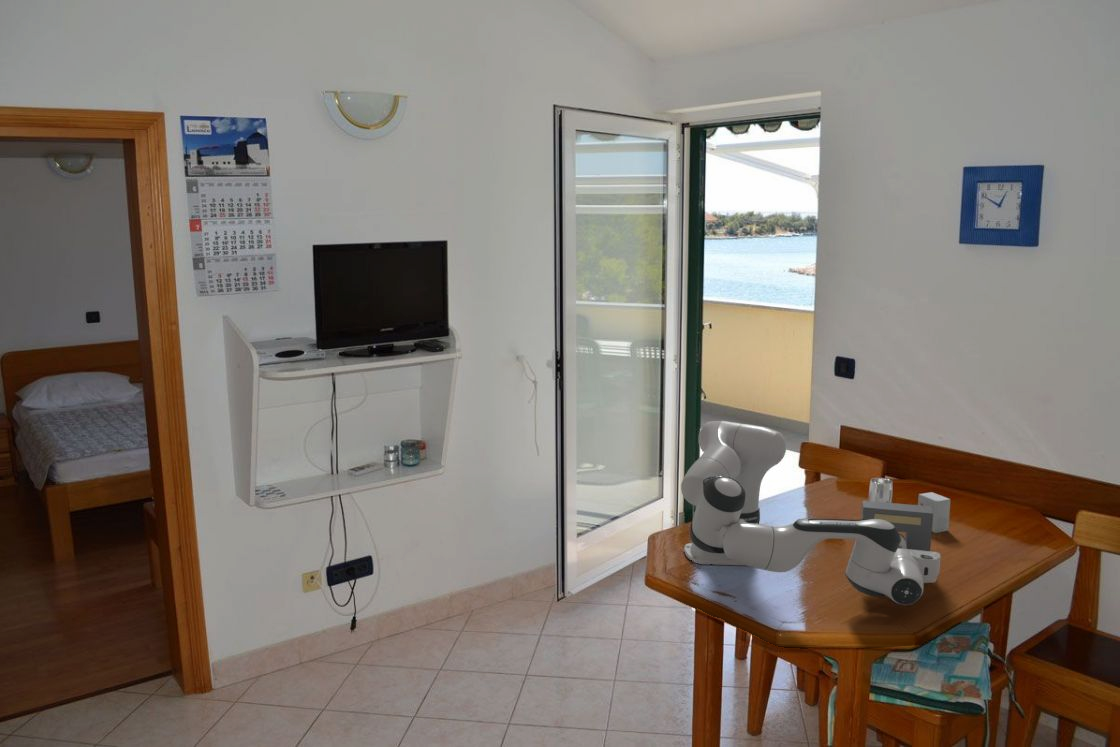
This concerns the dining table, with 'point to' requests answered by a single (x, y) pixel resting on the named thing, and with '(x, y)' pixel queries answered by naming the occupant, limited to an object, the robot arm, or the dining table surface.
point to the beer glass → (880, 490)
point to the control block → (904, 521)
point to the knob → (903, 541)
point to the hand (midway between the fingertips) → (897, 547)
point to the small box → (937, 510)
